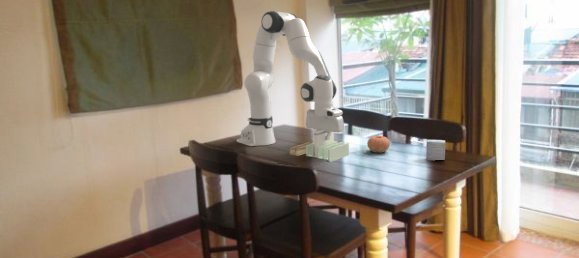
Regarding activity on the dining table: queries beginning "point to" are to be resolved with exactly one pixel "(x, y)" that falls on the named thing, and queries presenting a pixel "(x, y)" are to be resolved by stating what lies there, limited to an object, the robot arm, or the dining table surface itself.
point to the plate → (321, 139)
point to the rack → (328, 151)
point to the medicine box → (435, 150)
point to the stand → (299, 149)
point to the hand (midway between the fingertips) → (324, 139)
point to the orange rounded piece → (378, 144)
